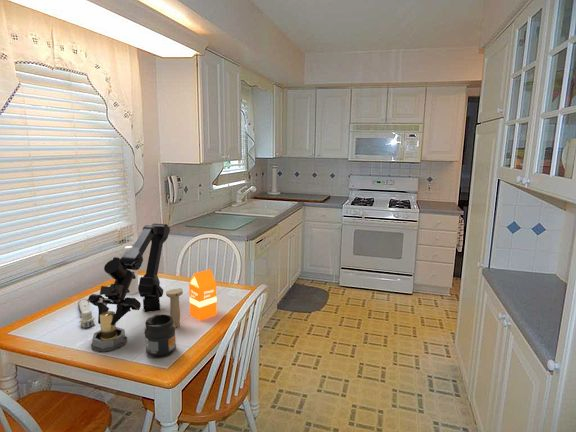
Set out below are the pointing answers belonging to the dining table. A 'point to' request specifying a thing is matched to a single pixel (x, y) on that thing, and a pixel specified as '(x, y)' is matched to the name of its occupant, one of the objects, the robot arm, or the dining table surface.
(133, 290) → the spray bottle
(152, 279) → the robot arm
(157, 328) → the supplement container
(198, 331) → the dining table surface
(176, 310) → the handle
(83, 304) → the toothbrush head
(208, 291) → the orange juice
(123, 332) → the collar fitting
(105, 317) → the gold bulb-shaped piece
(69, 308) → the dining table surface
